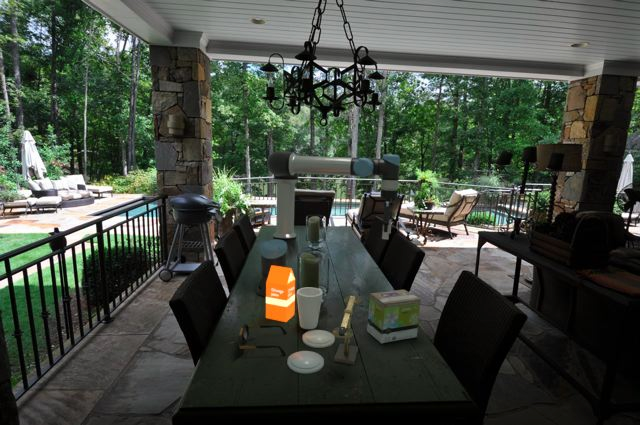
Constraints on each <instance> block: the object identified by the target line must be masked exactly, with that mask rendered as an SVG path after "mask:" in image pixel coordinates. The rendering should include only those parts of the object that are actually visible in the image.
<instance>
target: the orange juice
mask: <svg viewBox="0 0 640 425" xmlns="http://www.w3.org/2000/svg"><path fill="white" fill-rule="evenodd" d="M295 302H296V277H295V274H294V271H293V268H292V267H280V266H273V265H271V268H270V272H269V275H268V278H267V282H266V297H265V318H266V319H267V320H268V319H269V320H274V321H279V322H284V323H287V322H288V321H289V320H290V319H292V318H293V316H294V315H295V307H296V306H295V304H296V303H295Z"/></svg>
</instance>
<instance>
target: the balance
mask: <svg viewBox="0 0 640 425" xmlns="http://www.w3.org/2000/svg"><path fill="white" fill-rule="evenodd" d="M343 302H344V303H345V304H347V306H346V308H344V311H343V319H342V322H341V325H340V326H338V327H335V328H333V330H332V334H333V335H334V337H335V338H338V339H340V340H341V339H343V340H344V343H339V345H338V348H337V350H336V353H335V355H334V358H333V362H334V363H341V364H344V365H345V364H346V365H354V364H355V360H356V358H357V355H358V351H359V346H356V345H350V343H351V339H350V338H352V337H353V336H354V334H355V333H354V330H353V329H351V320H352V317H353V314H354V305H361V304H362V303H363V298H361V297H359V296H355V295H348V296H345V297H344V298H343Z"/></svg>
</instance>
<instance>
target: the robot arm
mask: <svg viewBox="0 0 640 425" xmlns="http://www.w3.org/2000/svg"><path fill="white" fill-rule="evenodd" d="M400 159H401V158H400V155H399V154H383V155H382V158H371V157H369V158H368V157H345V156H344V157H342V156H341V157H340V156H339V157H338V156H315V155H313V156H311V155H309V156H308V155H298V154H296V153H295V152H293V151H290V150H275V151H273V152H272V153H270V154H269V156H268V157H267V160H266V167H267V169H268V171H269V173H271V175H273V180H274V181H275V183H276V221H275V222H276V223H275V224H276V225H275V228H276V229H275V230H276V231H275V232H274V233H273V234H272V239H270V240H266V241H264V242H263V243H262V244H261V249H260V262H261V263H260V278H259V280H258V284H257V287H256V292H257V295H260V296H263V297H265V298H266V282H267V278H268V275H269V272H270V268H271V265H273V266H280V267H287V264H288V263H289V262H291V261H292V260H294V259H295V258H296V257H297V255H298V253H299V251H300V244H299V242H298V240H297V238H298V236H297V233H295V232H294V231H295V197H296V195H295V194H296V192H295V191H296V190H295V189H296V184H297V183H298V182H297V181H299V174H307V175H326V176H327V175H328V176H350V177H361V178H362V177H363V178H366V177H369V176H378V177H379V176H380V177H381V180H380V181H381V182H380V189H381V190H380V198H381V199H385V201H384V202H383V219H382V222H380V223H381V225H382V231H381V232H382V233H381V234H382V235H381V239H382V240H388V241H389V235H390V234H391V233H392V232H391V230H392V220H393V219H394V217H393V207H394V202H393V201H394V200H397V199H398V198H399V197H398V196H399V195H398V194H399V191H398V189H399V185H401V183H400V182H399V179H400V169H401V168H400V166H401V160H400ZM287 268H288V267H287Z"/></svg>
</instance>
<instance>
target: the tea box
mask: <svg viewBox="0 0 640 425" xmlns="http://www.w3.org/2000/svg"><path fill="white" fill-rule="evenodd" d="M420 307H421V298H419V297H418V296H416V295H415V294H413V293H412V292H409V291H407V290H406V289H398V290H397V289H396V290H389V291H388V290H387V291H379V292H373V293H370V295H369V305H368V314H367V315H368V318H367V328H366V329H367V330H366V331H367V332H368V333H369V334H370V335H371V336H372V337H373V338H374V339H375V340H376V341H378V342H379V343H380V344H385V343H391V342H396V341H402V340H406V339H407V340H408V339H414V338H415V339H416V338H417V337H418V329H419V319H420V318H419V317H420V309H421V308H420Z"/></svg>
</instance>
